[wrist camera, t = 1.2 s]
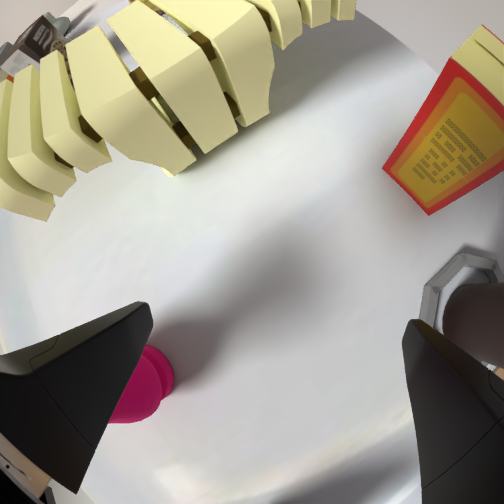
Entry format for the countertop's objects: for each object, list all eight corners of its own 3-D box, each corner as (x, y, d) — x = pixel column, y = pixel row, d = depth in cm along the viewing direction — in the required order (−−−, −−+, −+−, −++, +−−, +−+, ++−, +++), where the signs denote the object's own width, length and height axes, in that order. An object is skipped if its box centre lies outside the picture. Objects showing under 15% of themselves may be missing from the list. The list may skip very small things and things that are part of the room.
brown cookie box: (82, 94, 32) (22, 43, 16) (57, 111, 33) (-3, 69, 17) (91, 61, 33) (43, 13, 17) (66, 78, 34) (17, 35, 18)
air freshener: (76, 20, 40) (59, 1, 30) (70, 33, 39) (50, 13, 29) (48, 41, 41) (30, 24, 31) (41, 56, 40) (21, 39, 30)
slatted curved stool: (116, 240, 27) (-27, 200, 10) (82, 147, 30) (-10, 88, 13) (343, 88, 25) (360, -49, 8) (262, 26, 28) (238, -75, 10)
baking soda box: (428, 215, 22) (538, 146, 6) (381, 168, 23) (451, 54, 8) (465, 160, 22) (547, 84, 6) (424, 119, 23) (483, 21, 7)
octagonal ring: (488, 373, 19) (495, 376, 17) (405, 374, 21) (411, 378, 19) (507, 266, 20) (515, 265, 18) (427, 248, 22) (434, 246, 20)
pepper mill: (155, 327, 25) (-34, 368, 6) (192, 390, 24) (45, 509, 4) (110, 354, 26) (-47, 395, 6) (143, 410, 24) (7, 495, 5)
